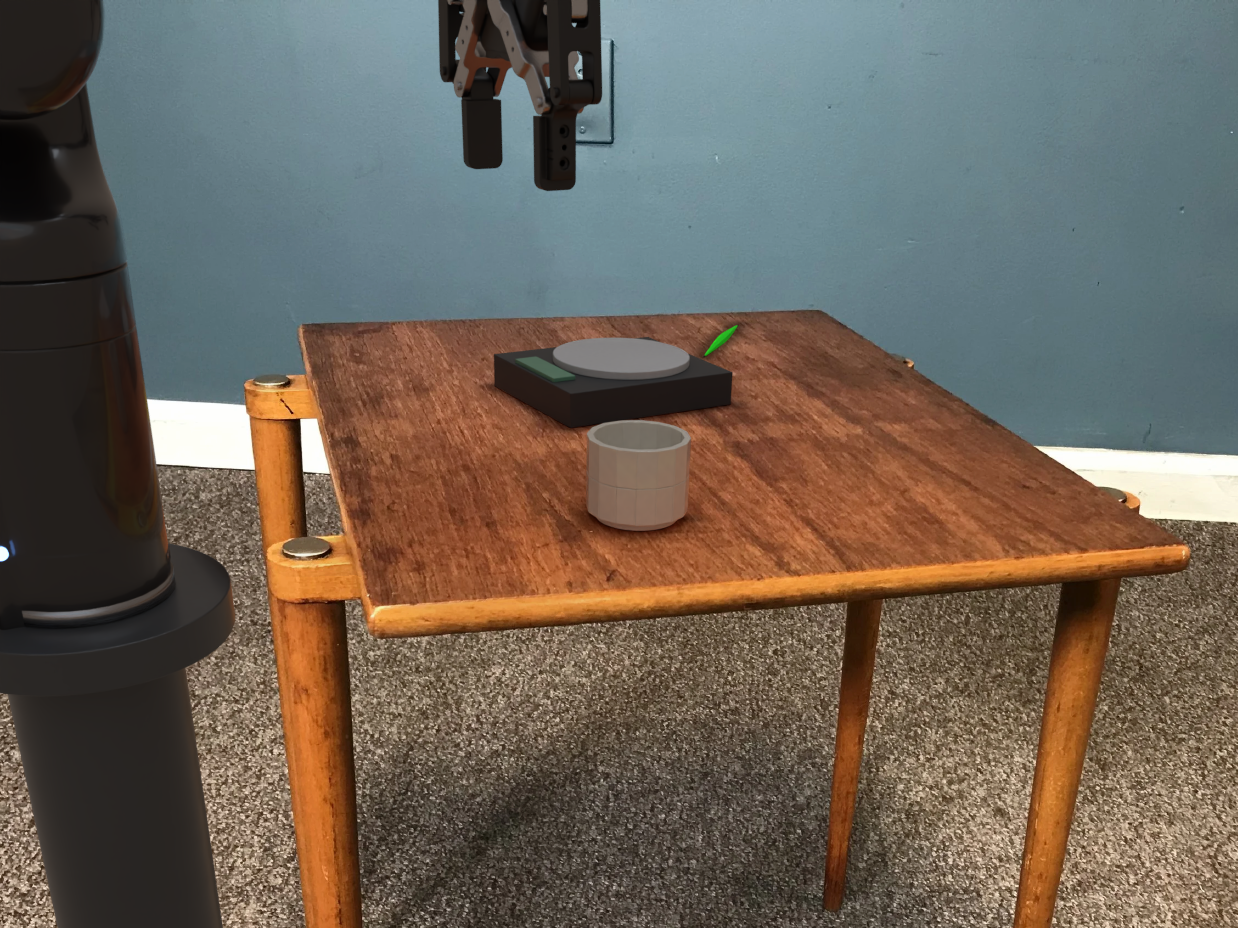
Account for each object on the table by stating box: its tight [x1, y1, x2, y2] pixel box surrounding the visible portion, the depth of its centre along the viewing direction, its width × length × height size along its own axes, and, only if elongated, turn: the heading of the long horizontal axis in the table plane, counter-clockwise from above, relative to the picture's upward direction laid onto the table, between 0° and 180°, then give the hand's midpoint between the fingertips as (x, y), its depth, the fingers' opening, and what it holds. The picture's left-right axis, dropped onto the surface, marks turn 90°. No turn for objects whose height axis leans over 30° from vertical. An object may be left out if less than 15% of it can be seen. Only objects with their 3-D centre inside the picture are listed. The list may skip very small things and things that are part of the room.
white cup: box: [585, 419, 692, 532], centre depth 80 cm, size 6×6×5 cm
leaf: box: [702, 323, 740, 358], centre depth 121 cm, size 1×14×1 cm, turn 165°
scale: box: [493, 336, 733, 429], centre depth 103 cm, size 14×12×3 cm
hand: (518, 178), depth 77 cm, fingers open, 8 cm apart
